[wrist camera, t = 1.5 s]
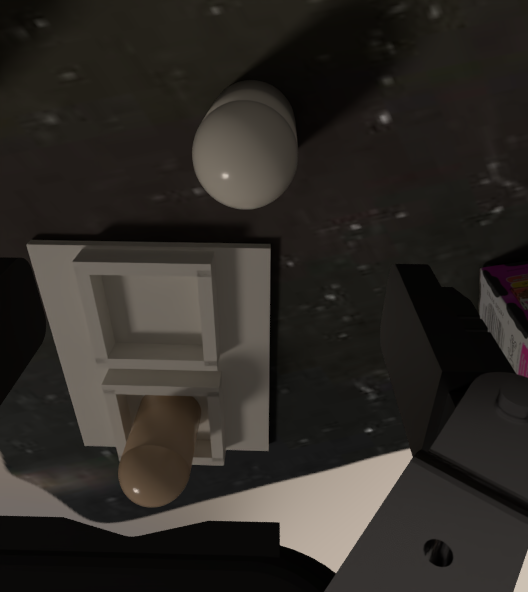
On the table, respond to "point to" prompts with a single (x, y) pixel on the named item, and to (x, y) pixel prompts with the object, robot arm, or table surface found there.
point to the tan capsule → (160, 449)
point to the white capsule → (247, 146)
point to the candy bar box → (507, 310)
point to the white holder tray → (161, 335)
